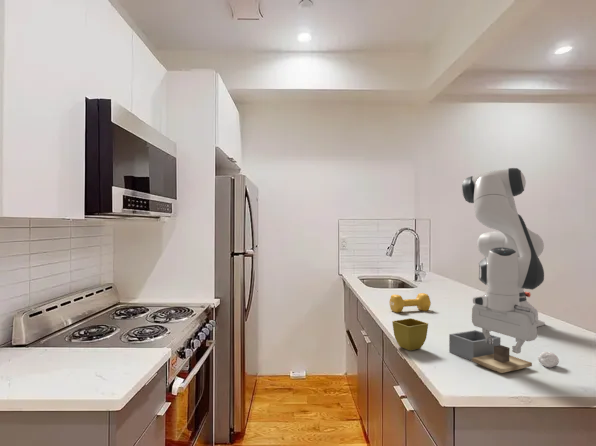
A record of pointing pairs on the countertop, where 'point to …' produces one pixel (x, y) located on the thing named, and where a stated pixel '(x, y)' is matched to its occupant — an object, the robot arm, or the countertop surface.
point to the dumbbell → (410, 302)
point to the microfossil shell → (548, 359)
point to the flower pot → (410, 333)
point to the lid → (501, 360)
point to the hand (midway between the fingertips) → (502, 348)
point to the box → (471, 344)
